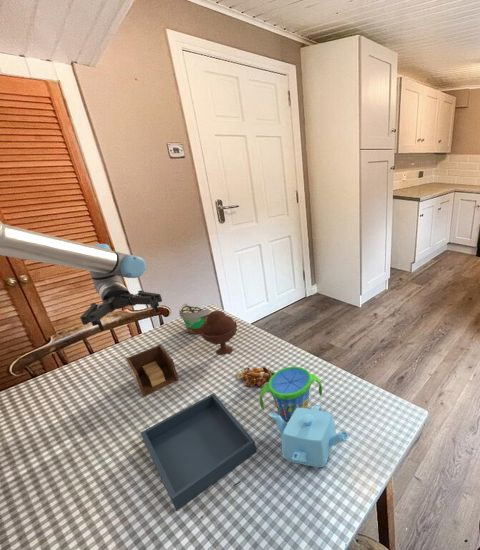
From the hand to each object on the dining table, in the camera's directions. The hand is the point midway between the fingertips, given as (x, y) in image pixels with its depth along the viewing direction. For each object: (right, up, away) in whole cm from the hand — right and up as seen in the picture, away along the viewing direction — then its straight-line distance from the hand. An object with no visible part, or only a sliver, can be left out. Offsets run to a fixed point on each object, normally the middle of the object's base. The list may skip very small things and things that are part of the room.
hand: (130, 317), depth 89 cm
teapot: (+57, -28, -21) cm, 67 cm away
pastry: (+36, -19, +2) cm, 41 cm away
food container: (+5, -10, +25) cm, 28 cm away
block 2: (+8, -19, 0) cm, 21 cm away
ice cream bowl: (+21, -14, +14) cm, 29 cm away
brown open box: (+7, -19, +1) cm, 21 cm away
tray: (+31, -28, -19) cm, 46 cm away
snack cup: (+51, -24, -9) cm, 57 cm away
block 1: (+5, -18, +3) cm, 19 cm away
